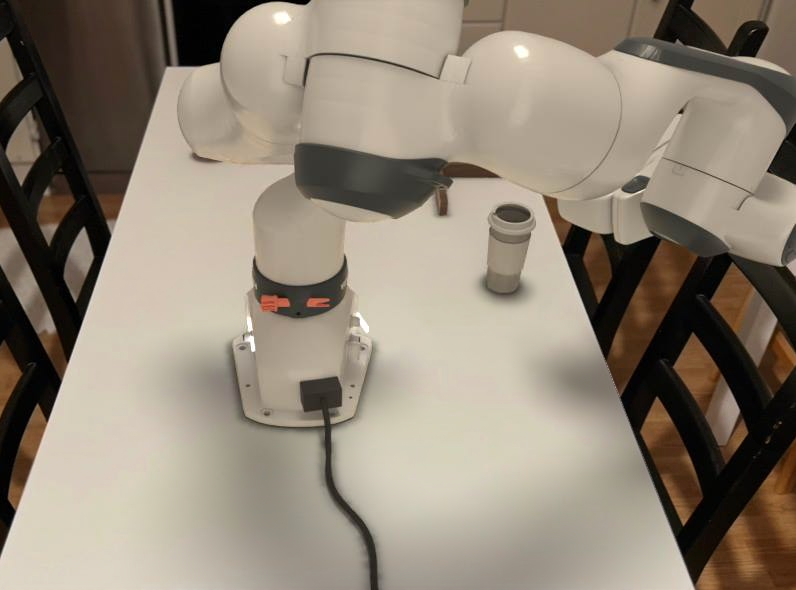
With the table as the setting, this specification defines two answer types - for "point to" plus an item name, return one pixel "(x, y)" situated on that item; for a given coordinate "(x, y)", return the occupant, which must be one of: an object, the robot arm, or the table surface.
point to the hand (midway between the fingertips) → (586, 150)
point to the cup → (508, 244)
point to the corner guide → (459, 171)
